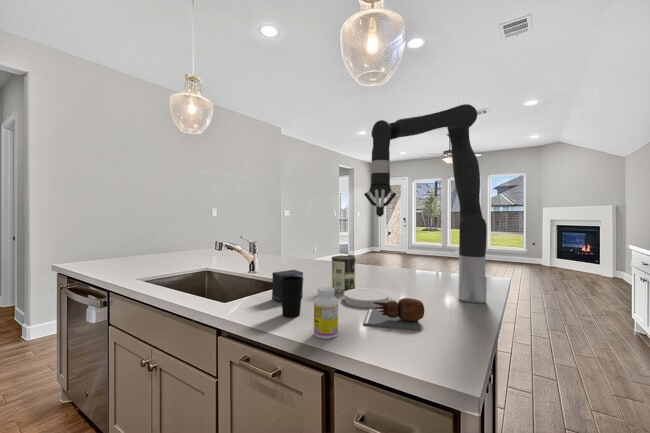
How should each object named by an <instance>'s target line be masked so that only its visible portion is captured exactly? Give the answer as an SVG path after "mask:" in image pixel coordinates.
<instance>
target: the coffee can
mask: <svg viewBox="0 0 650 433" xmlns="http://www.w3.org/2000/svg"><path fill="white" fill-rule="evenodd" d="M355 276H356V257H355V256H351V255H335V256H331V287H333V288H334V289H335V293H344V292H345V291H347V290H350V289H356V277H355Z"/></svg>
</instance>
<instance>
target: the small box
mask: <svg viewBox="0 0 650 433" xmlns="http://www.w3.org/2000/svg"><path fill="white" fill-rule="evenodd" d="M285 276H299V277H302V278H303V279H304V272H303V271H300V270H297V269H289V270H282V271H274V272H272V285H271V286H272V288H271V291H272V292H271V299H272V300H273V301H275V302H277V303H281V304H282V300H281V289H280V278H281V277H285ZM303 288H304V287H302V297H301V299H303V295H304V294H303Z"/></svg>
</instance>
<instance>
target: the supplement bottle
mask: <svg viewBox="0 0 650 433" xmlns="http://www.w3.org/2000/svg"><path fill="white" fill-rule="evenodd" d="M335 293H336V292H335V289H334V288H333V287H332V286H320V287H318V288H317V295H318V296H317V297H315V299H314V301H313V334H314V336H315V337H316V338H318V339H321V340H329V339H330V340H331V339H334V338H336V337H337V336H338V334H339V300H338V298H337V297H336V296H335Z"/></svg>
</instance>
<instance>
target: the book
mask: <svg viewBox="0 0 650 433" xmlns="http://www.w3.org/2000/svg"><path fill="white" fill-rule="evenodd" d="M381 310H382V309H375V308H374V309H373V308H368V310H367V312H366V315H365V318H364V321H363V323H362V324H363V326H367V327H376V328H377V327H378V328H386V327H387V328H388V329H399V330H409V331H418V332H419V331H420V322H419V320H417V321H403V320H401V319H400V318H399V316H398V317H396V318H390V317H388V316H386V315H382V313H384V312H379V311H381Z"/></svg>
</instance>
